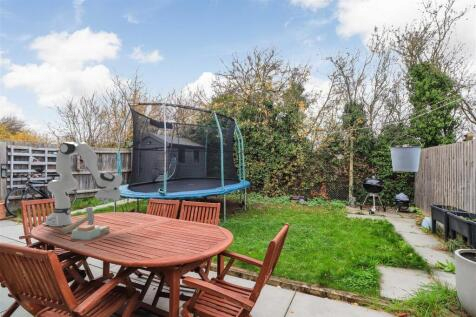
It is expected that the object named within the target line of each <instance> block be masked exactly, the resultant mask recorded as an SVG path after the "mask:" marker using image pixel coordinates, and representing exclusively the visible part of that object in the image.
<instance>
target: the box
mask: <svg viewBox="0 0 476 317" xmlns="http://www.w3.org/2000/svg"><path fill="white" fill-rule="evenodd" d="M99 237H101V235H100V228H97V229H94V230H91V231H78V228H75V229H73V230H72V231H71V240H83V241H90V240H93V239H95V238H99Z"/></svg>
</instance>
